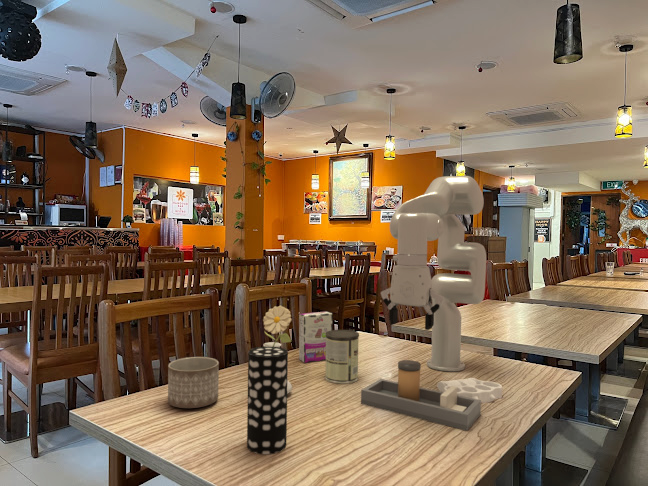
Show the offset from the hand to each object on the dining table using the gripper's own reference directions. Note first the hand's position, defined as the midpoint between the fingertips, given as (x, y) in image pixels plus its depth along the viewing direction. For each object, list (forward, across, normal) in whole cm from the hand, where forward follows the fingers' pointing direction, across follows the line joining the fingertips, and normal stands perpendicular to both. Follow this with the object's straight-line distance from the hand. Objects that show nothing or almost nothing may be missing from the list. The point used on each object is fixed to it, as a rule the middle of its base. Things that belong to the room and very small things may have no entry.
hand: (410, 326), depth 121 cm
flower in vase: (+21, -34, -15) cm, 43 cm away
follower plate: (+20, +12, -1) cm, 23 cm away
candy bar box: (+22, -44, +20) cm, 53 cm away
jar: (+20, 0, -1) cm, 20 cm away
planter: (+21, -47, -32) cm, 60 cm away
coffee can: (+22, -26, +8) cm, 35 cm away
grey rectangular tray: (+21, +3, -1) cm, 21 cm away
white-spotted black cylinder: (+20, -16, -39) cm, 47 cm away
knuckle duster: (+22, +11, +17) cm, 30 cm away
